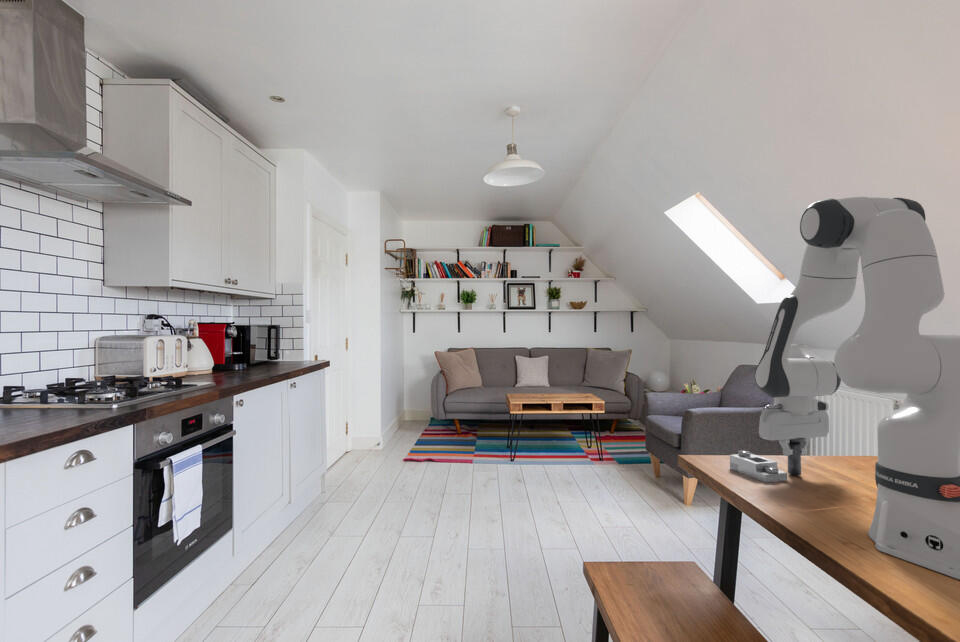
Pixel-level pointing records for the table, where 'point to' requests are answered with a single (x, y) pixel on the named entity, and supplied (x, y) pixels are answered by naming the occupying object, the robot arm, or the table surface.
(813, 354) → the robot arm
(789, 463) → the pin
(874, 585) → the table surface
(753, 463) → the slotted ball-knob block
